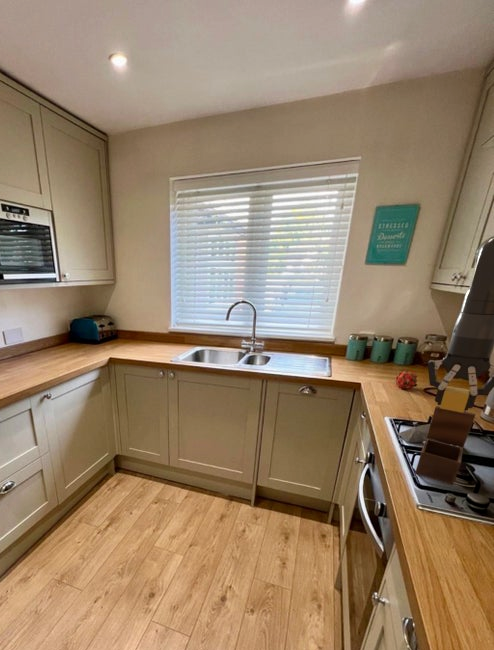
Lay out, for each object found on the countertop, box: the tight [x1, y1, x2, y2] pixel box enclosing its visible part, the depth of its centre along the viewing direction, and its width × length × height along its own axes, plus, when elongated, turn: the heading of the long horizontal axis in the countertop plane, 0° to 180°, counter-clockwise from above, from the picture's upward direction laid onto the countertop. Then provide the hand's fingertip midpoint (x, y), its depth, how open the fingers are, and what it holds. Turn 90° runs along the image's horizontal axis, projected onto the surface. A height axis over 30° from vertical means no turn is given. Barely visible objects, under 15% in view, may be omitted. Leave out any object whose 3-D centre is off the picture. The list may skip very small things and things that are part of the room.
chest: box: [415, 439, 464, 486], centre depth 89 cm, size 10×8×7 cm
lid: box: [427, 405, 477, 448], centre depth 89 cm, size 11×8×5 cm
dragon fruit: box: [394, 370, 418, 390], centre depth 155 cm, size 8×8×12 cm
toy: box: [439, 385, 470, 413], centre depth 78 cm, size 4×4×4 cm
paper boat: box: [397, 421, 431, 444], centre depth 106 cm, size 12×6×9 cm
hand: (452, 406), depth 78 cm, fingers closed on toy, 4 cm apart
